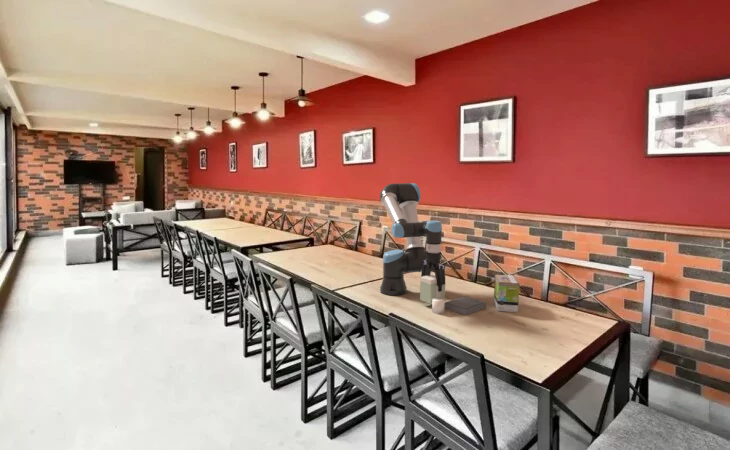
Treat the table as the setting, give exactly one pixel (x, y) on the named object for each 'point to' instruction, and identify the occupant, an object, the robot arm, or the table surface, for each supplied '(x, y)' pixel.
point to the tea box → (506, 293)
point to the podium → (465, 305)
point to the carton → (429, 288)
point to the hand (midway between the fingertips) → (432, 295)
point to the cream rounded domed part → (438, 305)
